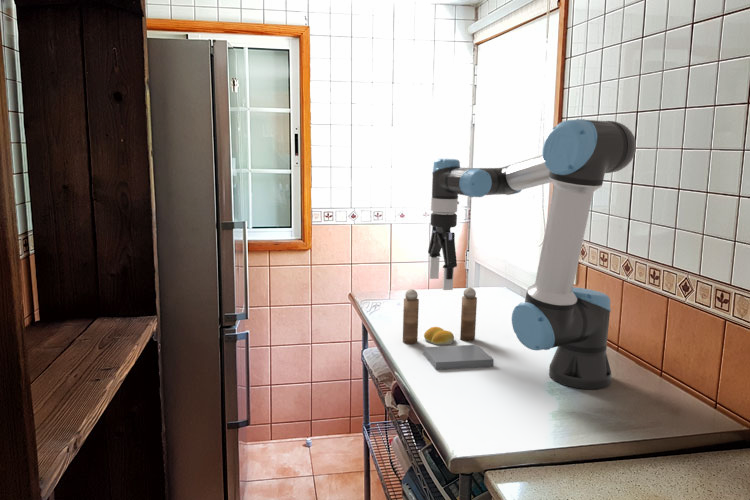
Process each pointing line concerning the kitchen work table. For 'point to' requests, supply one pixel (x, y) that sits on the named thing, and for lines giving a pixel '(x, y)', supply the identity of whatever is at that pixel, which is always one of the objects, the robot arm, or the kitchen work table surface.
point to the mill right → (468, 315)
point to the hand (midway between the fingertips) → (440, 284)
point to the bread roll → (438, 336)
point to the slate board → (457, 357)
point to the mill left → (410, 317)
